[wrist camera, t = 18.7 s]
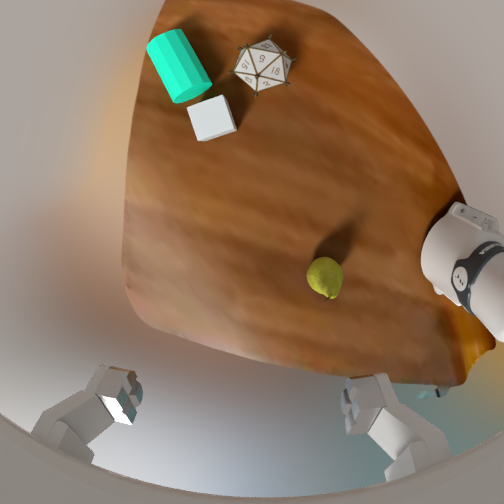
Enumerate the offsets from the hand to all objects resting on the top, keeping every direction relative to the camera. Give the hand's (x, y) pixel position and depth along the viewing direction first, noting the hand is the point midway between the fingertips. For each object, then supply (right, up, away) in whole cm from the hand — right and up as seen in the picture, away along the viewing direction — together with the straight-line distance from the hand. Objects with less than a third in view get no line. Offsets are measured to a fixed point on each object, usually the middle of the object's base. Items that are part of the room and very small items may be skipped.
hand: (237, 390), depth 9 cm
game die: (-2, +34, +20) cm, 39 cm away
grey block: (-5, +24, +27) cm, 37 cm away
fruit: (+12, +3, +36) cm, 38 cm away
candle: (-8, +27, +23) cm, 36 cm away
